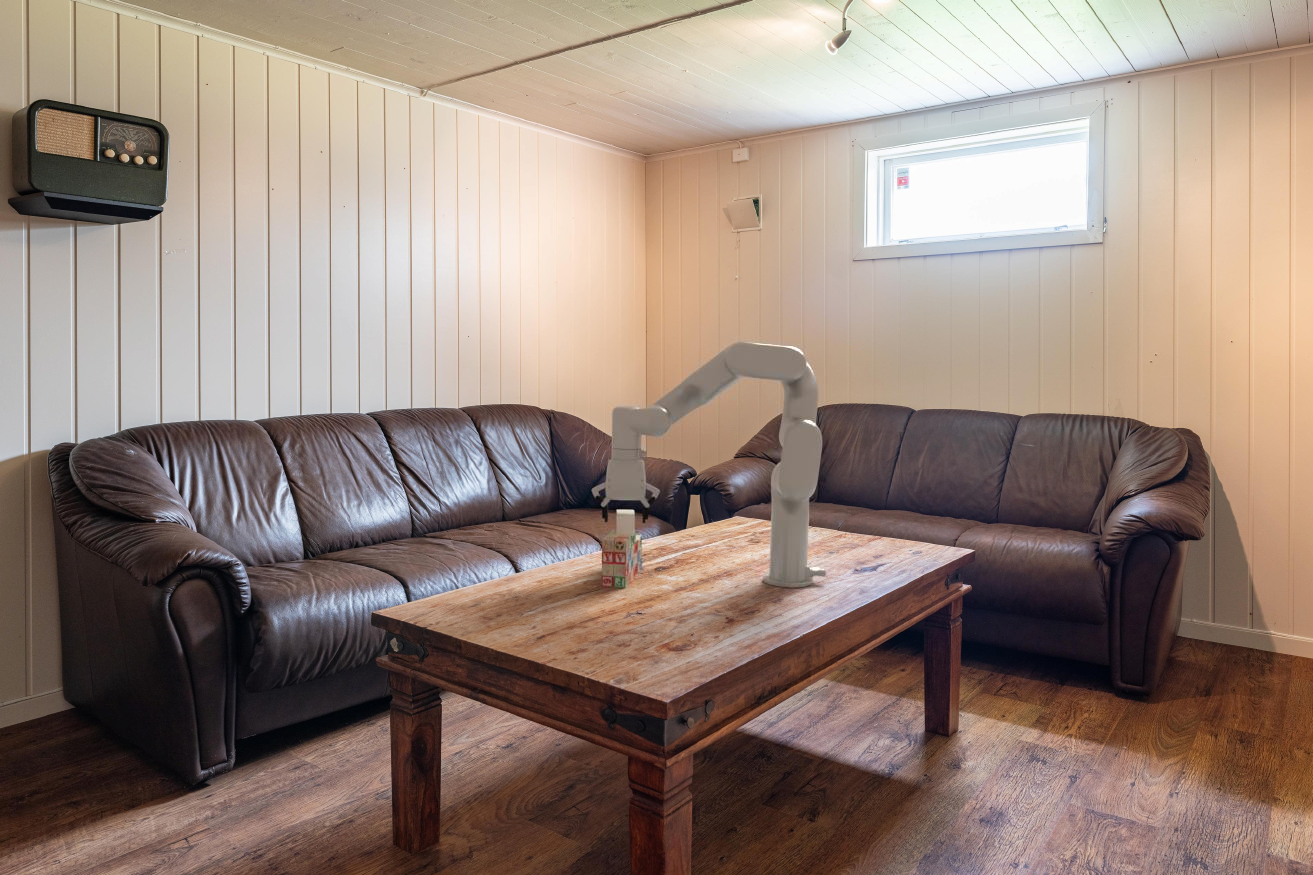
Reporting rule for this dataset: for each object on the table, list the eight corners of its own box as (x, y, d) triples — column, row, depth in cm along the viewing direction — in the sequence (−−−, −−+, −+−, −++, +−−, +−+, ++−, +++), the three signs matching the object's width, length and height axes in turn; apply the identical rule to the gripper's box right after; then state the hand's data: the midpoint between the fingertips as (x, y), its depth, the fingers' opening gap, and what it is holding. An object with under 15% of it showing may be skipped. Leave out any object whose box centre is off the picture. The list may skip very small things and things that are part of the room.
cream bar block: (633, 528, 227) (634, 509, 227) (634, 535, 218) (634, 516, 218) (616, 528, 227) (616, 509, 227) (616, 535, 218) (616, 515, 218)
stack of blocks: (619, 567, 236) (620, 522, 235) (642, 568, 235) (643, 523, 234) (600, 587, 215) (601, 538, 214) (625, 588, 214) (626, 539, 213)
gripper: (660, 454, 224) (658, 519, 226) (593, 452, 224) (592, 518, 226) (660, 457, 217) (659, 525, 218) (591, 456, 217) (590, 524, 218)
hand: (625, 521), depth 222 cm, fingers open, 9 cm apart
